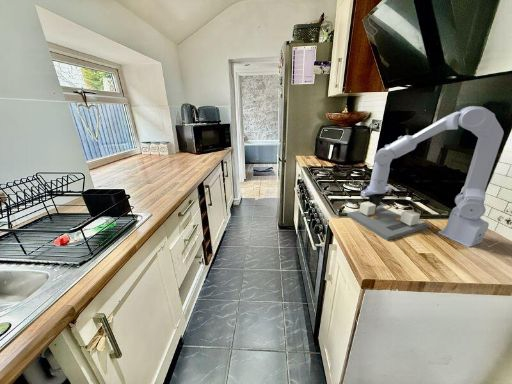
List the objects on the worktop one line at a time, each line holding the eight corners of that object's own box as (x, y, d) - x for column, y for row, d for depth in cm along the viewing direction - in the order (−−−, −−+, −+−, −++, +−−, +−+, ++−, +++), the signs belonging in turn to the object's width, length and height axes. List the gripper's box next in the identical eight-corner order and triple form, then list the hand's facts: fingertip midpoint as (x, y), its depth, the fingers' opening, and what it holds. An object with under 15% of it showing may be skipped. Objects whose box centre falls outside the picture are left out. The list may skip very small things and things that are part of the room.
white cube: (417, 223, 81) (420, 214, 79) (410, 225, 79) (412, 216, 78) (407, 218, 84) (409, 209, 82) (399, 220, 83) (402, 211, 81)
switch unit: (428, 227, 82) (430, 223, 81) (386, 240, 74) (388, 236, 74) (384, 207, 98) (385, 203, 97) (347, 216, 91) (347, 212, 90)
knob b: (374, 213, 88) (376, 205, 87) (366, 215, 87) (368, 206, 85) (366, 209, 92) (368, 201, 90) (359, 211, 90) (360, 202, 89)
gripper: (383, 173, 91) (377, 202, 96) (357, 178, 86) (352, 208, 91) (399, 178, 85) (391, 209, 90) (371, 183, 80) (365, 215, 85)
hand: (372, 209), depth 90 cm, fingers closed
